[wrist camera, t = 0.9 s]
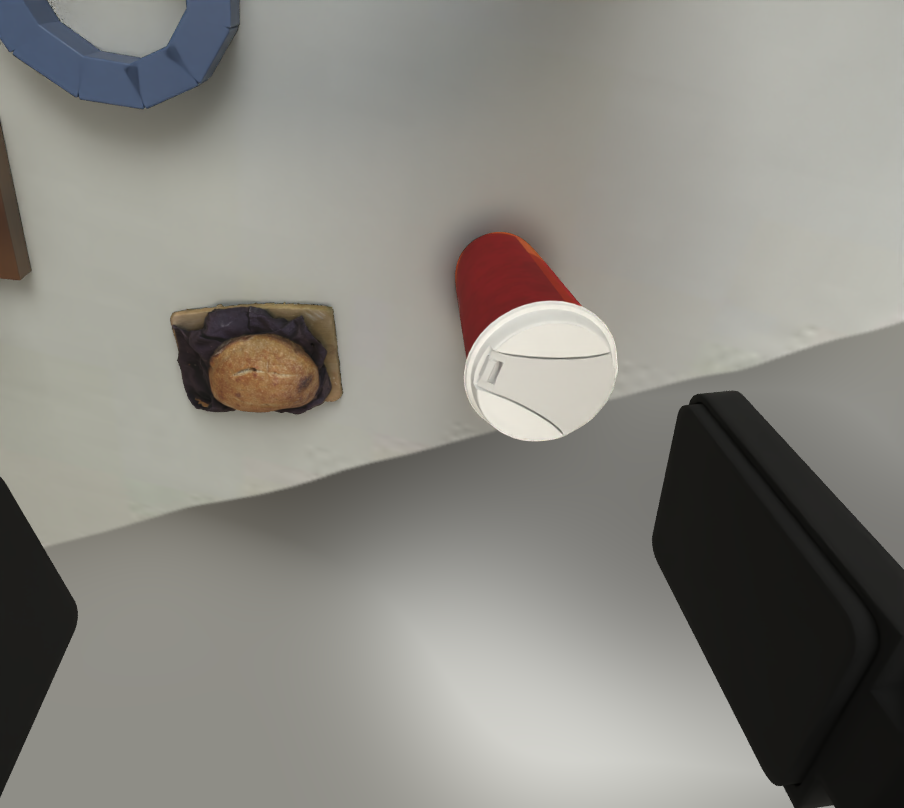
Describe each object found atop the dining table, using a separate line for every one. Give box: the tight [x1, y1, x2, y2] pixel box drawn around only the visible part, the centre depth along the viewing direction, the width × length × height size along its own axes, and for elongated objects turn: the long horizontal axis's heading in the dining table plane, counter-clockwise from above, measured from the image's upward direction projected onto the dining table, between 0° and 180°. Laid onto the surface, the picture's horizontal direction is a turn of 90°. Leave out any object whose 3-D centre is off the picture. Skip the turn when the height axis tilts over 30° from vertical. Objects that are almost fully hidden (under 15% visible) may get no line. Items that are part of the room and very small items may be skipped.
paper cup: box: [455, 232, 618, 441], centre depth 35 cm, size 8×8×14 cm
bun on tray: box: [170, 302, 343, 414], centre depth 41 cm, size 11×8×4 cm
